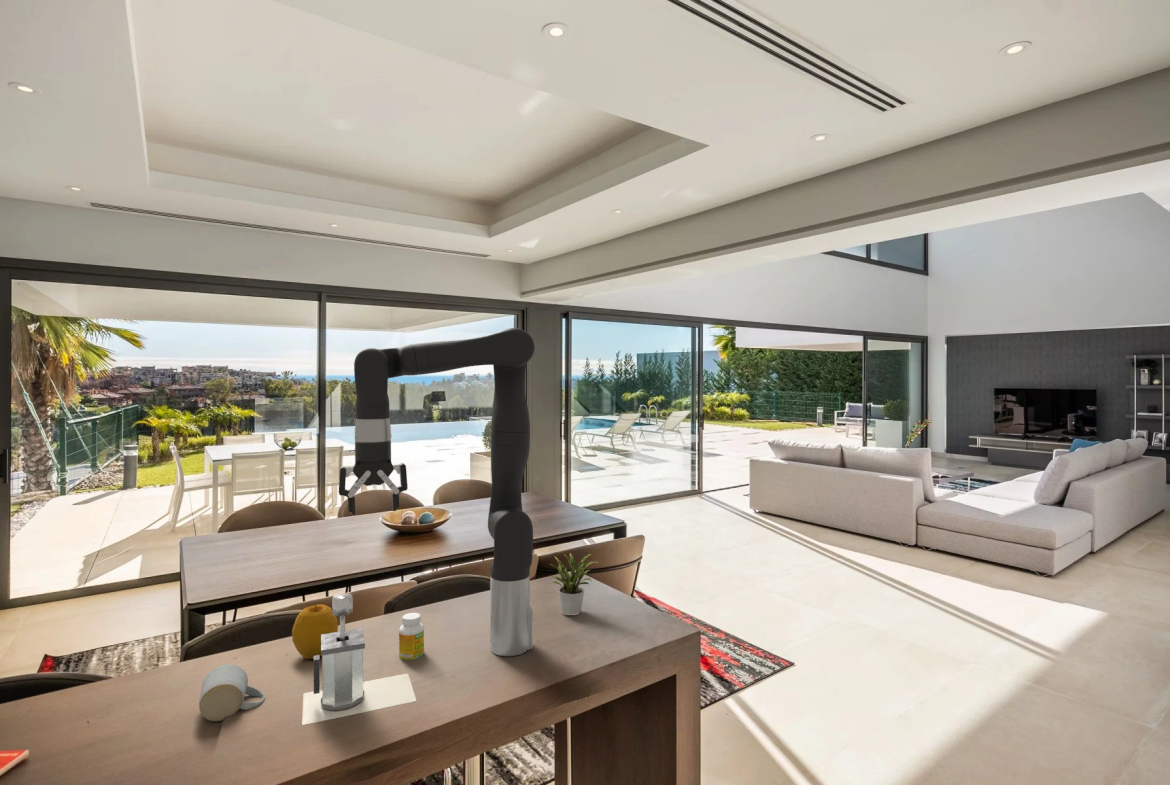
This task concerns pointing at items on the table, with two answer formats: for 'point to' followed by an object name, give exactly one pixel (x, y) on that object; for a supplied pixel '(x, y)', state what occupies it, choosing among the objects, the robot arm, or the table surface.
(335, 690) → the press
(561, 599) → the house plant
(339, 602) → the plunger
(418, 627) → the supplement bottle
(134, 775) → the table surface
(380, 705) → the plate
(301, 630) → the apple
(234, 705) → the ceramic mug
